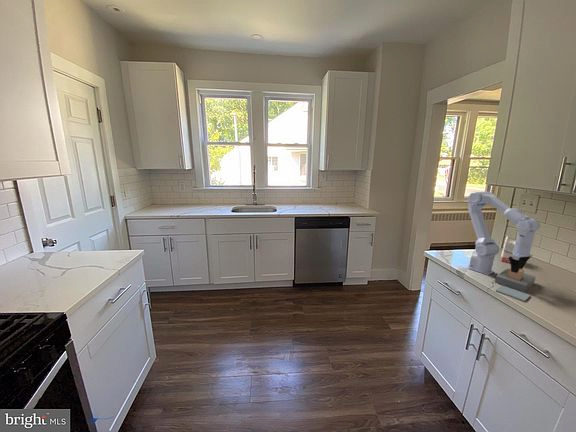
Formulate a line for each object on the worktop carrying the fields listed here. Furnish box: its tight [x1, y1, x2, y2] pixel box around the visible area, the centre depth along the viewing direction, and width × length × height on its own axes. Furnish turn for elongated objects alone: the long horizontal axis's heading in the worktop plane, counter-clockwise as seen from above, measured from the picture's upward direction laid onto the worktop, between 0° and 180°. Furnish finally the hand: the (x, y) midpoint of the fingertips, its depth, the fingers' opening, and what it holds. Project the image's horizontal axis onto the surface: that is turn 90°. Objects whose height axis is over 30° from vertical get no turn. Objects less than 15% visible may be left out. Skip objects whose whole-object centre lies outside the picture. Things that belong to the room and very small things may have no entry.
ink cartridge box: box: [500, 235, 516, 264], centre depth 146 cm, size 9×5×15 cm, turn 141°
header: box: [494, 268, 536, 293], centre depth 121 cm, size 11×16×4 cm
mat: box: [495, 285, 531, 302], centre depth 111 cm, size 10×8×1 cm
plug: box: [507, 267, 525, 281], centre depth 119 cm, size 4×4×8 cm
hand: (516, 270), depth 118 cm, fingers open, 7 cm apart
